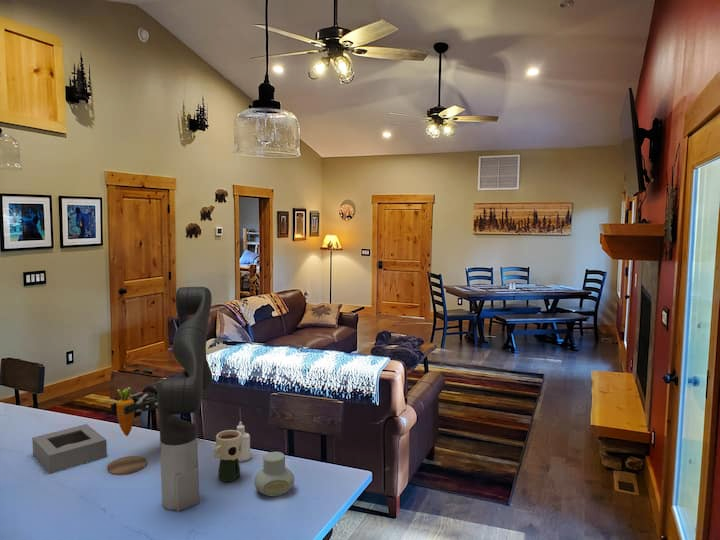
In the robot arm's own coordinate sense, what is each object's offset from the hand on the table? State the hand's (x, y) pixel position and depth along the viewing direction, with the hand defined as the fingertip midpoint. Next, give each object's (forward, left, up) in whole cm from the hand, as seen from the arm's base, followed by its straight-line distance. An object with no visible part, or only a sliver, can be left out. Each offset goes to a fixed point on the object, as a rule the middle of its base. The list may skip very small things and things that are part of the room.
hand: (118, 409), depth 154 cm
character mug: (-27, -20, -19) cm, 39 cm away
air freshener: (-42, -25, -19) cm, 53 cm away
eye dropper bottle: (-19, -29, -19) cm, 40 cm away
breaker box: (+21, +8, -18) cm, 29 cm away
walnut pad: (+1, -2, -18) cm, 19 cm away
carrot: (+1, -3, -9) cm, 10 cm away
